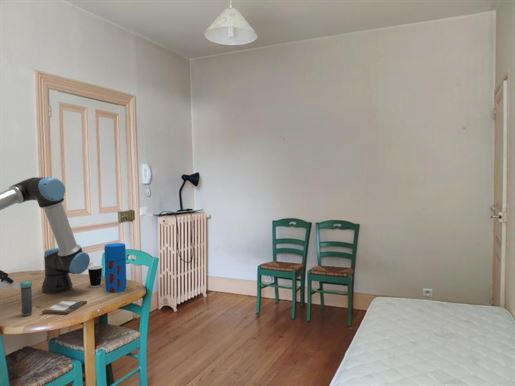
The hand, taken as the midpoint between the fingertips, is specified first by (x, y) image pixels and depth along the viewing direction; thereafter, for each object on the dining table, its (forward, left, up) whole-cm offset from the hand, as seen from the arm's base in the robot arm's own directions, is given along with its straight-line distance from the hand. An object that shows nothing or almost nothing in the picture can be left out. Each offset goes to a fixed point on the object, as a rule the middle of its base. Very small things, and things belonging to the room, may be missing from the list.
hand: (11, 287), depth 169 cm
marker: (-5, +3, -14) cm, 15 cm away
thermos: (-46, +24, -14) cm, 54 cm away
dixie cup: (-51, +9, -14) cm, 53 cm away
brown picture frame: (-15, +15, -14) cm, 25 cm away
